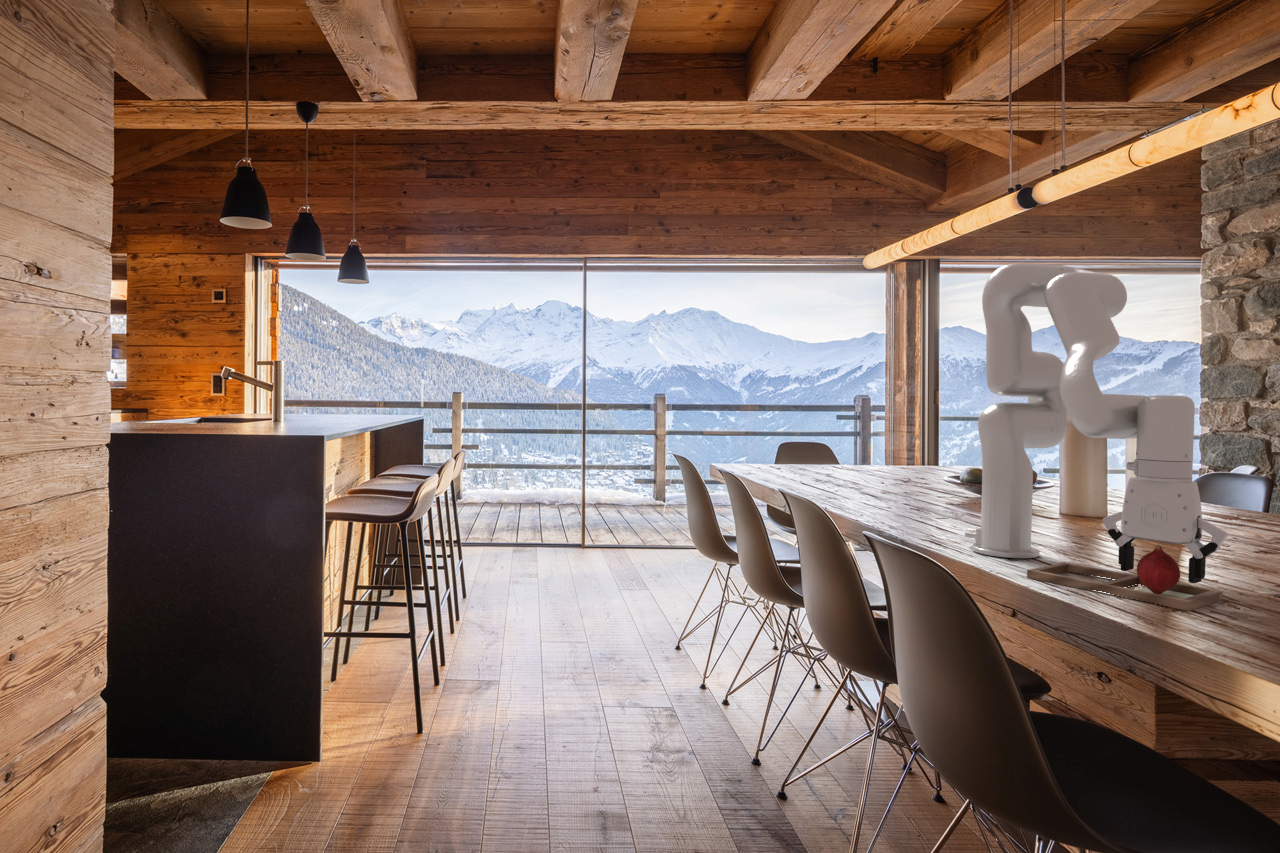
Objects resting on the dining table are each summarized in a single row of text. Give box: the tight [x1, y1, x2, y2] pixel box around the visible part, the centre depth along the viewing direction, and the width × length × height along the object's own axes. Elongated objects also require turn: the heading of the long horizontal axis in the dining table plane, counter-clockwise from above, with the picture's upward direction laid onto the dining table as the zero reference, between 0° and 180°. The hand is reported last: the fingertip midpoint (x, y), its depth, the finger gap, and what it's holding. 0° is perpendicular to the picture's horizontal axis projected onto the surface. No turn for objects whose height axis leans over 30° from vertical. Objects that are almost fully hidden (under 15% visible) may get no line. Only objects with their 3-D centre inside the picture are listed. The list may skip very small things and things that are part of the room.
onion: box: [1136, 545, 1181, 594], centre depth 118 cm, size 6×6×8 cm
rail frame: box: [1026, 562, 1224, 612], centre depth 123 cm, size 25×13×1 cm, turn 33°
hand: (1159, 575), depth 118 cm, fingers open, 9 cm apart
